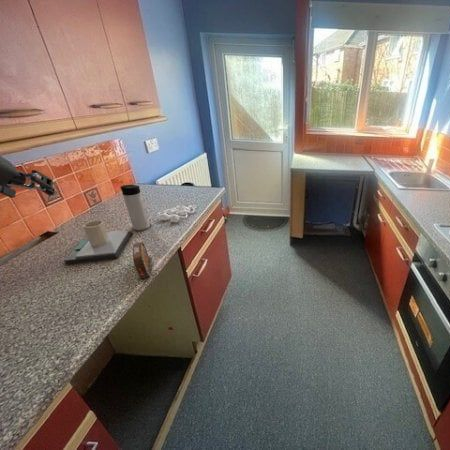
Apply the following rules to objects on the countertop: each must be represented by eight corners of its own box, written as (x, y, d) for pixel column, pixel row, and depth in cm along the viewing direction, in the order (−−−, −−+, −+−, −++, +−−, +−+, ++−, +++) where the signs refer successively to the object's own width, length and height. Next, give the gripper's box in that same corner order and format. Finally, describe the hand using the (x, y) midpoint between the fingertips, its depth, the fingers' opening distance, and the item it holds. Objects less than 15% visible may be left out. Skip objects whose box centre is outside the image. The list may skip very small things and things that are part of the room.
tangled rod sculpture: (181, 207, 132) (179, 199, 131) (204, 209, 129) (203, 201, 127) (152, 221, 116) (150, 213, 114) (177, 224, 112) (175, 216, 110)
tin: (150, 281, 80) (144, 259, 76) (139, 284, 78) (132, 262, 74) (149, 256, 91) (143, 237, 87) (139, 259, 90) (132, 239, 86)
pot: (88, 247, 90) (79, 228, 86) (94, 239, 94) (87, 220, 91) (106, 245, 91) (99, 226, 87) (112, 237, 96) (105, 219, 92)
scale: (66, 265, 85) (63, 259, 83) (89, 238, 100) (87, 232, 98) (117, 259, 89) (114, 253, 87) (132, 235, 104) (130, 229, 102)
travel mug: (129, 230, 107) (115, 186, 97) (142, 224, 112) (130, 181, 103) (141, 233, 105) (127, 188, 96) (153, 226, 111) (142, 183, 101)
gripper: (20, 147, 57) (65, 180, 72) (-65, 147, 53) (2, 182, 68) (15, 176, 55) (63, 204, 70) (-73, 179, 51) (-2, 208, 66)
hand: (33, 193), depth 69 cm, fingers open, 8 cm apart
